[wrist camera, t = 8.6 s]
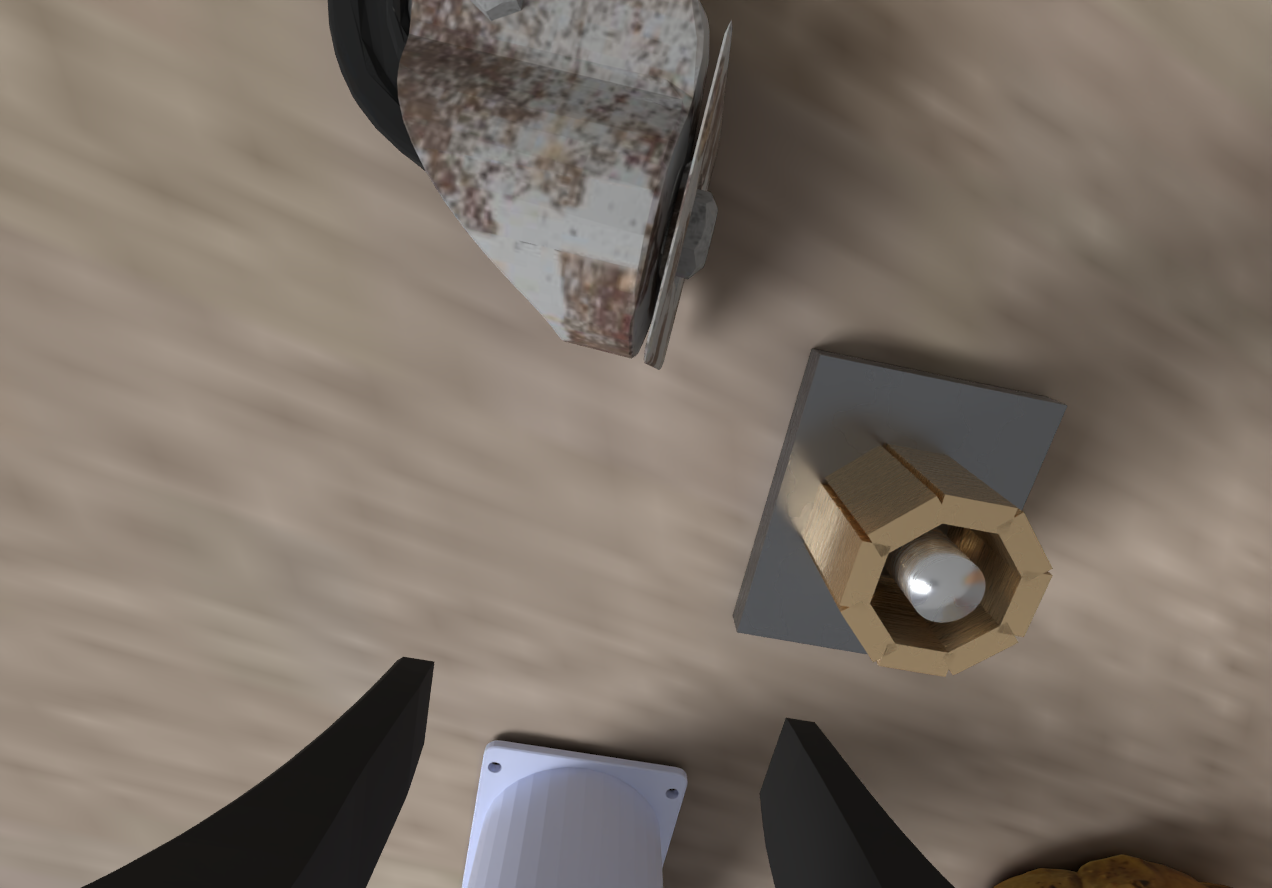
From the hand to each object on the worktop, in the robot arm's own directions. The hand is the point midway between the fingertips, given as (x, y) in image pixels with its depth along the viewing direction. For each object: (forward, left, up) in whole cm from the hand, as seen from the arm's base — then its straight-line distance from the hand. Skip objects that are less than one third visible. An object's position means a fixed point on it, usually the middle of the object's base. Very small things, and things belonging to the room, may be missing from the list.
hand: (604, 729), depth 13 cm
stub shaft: (+2, -9, -10) cm, 14 cm away
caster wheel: (+12, +4, -10) cm, 16 cm away
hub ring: (+2, -9, -9) cm, 13 cm away
